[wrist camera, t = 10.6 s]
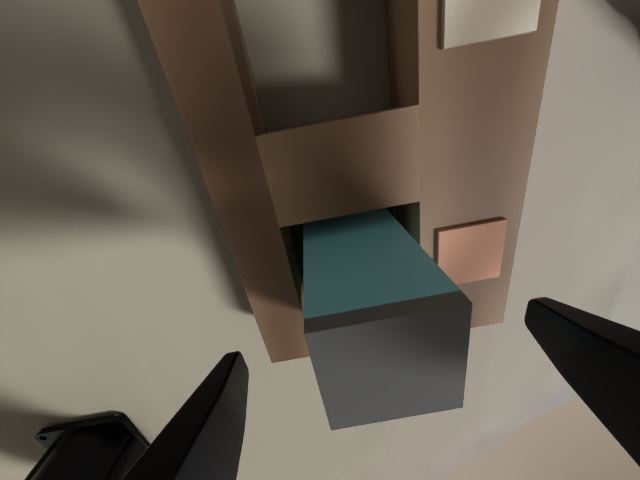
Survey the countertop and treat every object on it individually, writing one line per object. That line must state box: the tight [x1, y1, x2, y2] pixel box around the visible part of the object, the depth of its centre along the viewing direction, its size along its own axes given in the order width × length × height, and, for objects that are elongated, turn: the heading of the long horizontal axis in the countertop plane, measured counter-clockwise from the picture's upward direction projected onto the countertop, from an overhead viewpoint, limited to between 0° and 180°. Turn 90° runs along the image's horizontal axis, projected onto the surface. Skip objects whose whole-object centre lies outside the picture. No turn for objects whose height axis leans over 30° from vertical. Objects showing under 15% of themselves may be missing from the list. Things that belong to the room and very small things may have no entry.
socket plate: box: [137, 0, 559, 363], centre depth 11 cm, size 12×18×3 cm, turn 10°
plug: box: [303, 208, 473, 430], centre depth 11 cm, size 4×4×8 cm
